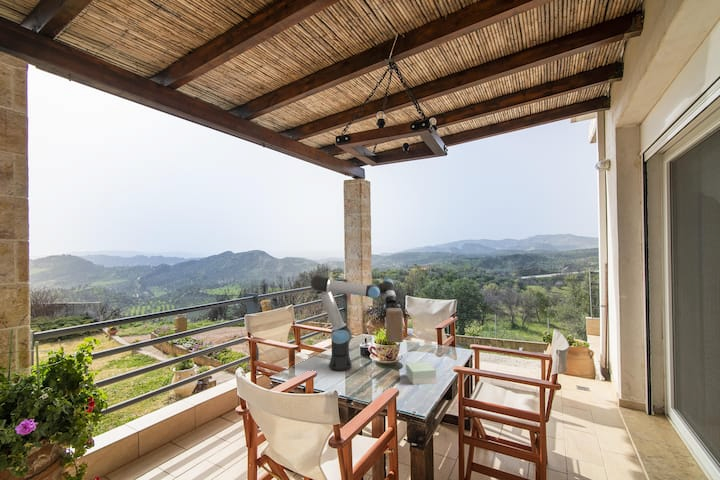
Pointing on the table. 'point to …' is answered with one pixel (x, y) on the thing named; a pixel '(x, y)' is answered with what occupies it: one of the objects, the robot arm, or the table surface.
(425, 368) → the tower top slab
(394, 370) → the table surface
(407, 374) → the tower base slab
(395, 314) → the wooden block
